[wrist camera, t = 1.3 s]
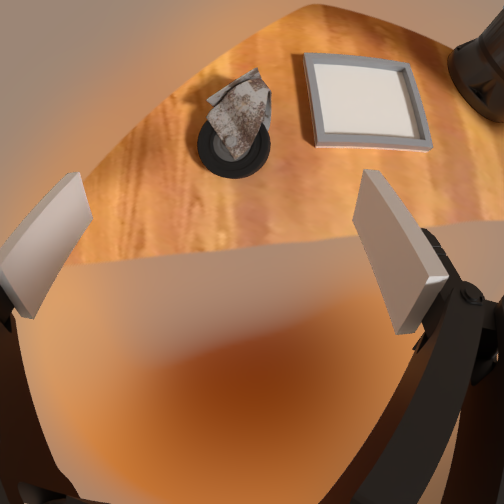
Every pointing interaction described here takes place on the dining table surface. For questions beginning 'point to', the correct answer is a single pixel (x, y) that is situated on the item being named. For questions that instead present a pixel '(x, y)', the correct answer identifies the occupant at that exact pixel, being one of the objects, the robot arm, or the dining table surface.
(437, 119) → the dining table surface
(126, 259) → the dining table surface
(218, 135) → the caster wheel
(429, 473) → the robot arm
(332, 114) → the shallow rectangular tray
